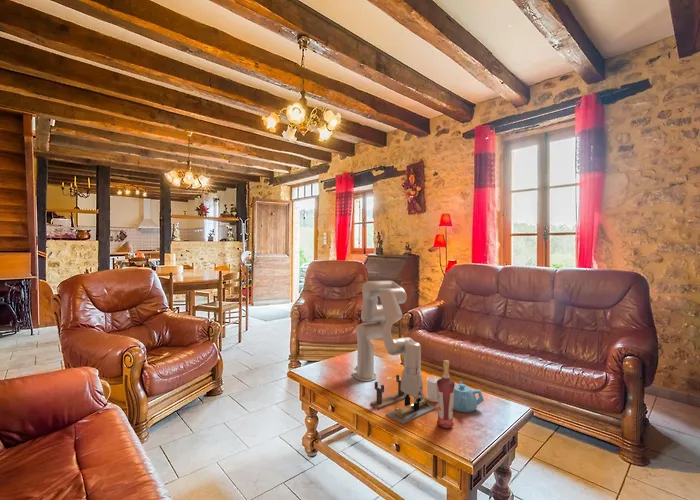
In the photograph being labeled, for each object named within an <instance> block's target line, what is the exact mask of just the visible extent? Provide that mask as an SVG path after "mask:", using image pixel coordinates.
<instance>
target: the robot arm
mask: <svg viewBox="0 0 700 500" xmlns="http://www.w3.org/2000/svg"><path fill="white" fill-rule="evenodd" d="M361 287H362V289H361V291H362V292H361V293H362V303H361V313H360V319H361V321H362V323H360V324H358V325H357V326H356V327H355V333H356V341H357V356H356V357H357V365H356V366H355V367H354V371H356V373H355V374H354V378H355V380H357V381H359V382H372V381H375V380H376V379H377V374H376V373H375V371H374V370H375V367H374V366H375V365H374V364H375V347H374V344H373V343H372V342H371V340H375V339H381V338H382V340H383V344H384V347H385V350H386V351H387V353H388V354H389V355H391V356H398V355H403V357H404V358H403V363H402V364H403V365H402V366H403V370H402V373H401V378H400V381H401V386H400V389H401V391H402V393H403V395H404V398H405V399H404V406H407V405H410V404H411V397H413V400H414V402H413V403H414V411H417V410H419V402H420V401H421V400H423V399H425V397H426V396H425V394H424V382H423V375H422V373H421V371H422V370H421V369H422V368H421V364H422V363H421V362H422V359H421V358H422V345H421V344H420V342H418V341H415V340H414V339H413V338H411V337H409V336H404V337H398V338H393V335H392V326H393V325H394V324H395V323H397V322H398V321H400V320H401V319H402V318H403V312H402V309H401V307H400V304H402V305H403V304H405V303H406V301H407V299H408V296H407V292H406V291H405V289H404V288H403V287H402V286H401V285H399V284H398V283H396V282H395V281H393V280H370V281H365V282H364V283H363V285H362V286H361ZM378 297H379V299H378ZM379 300H380V303H381V304H379Z"/></svg>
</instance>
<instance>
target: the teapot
mask: <svg viewBox="0 0 700 500" xmlns="http://www.w3.org/2000/svg"><path fill="white" fill-rule="evenodd" d="M476 394H478V395H477V396H478V398H477V397H476ZM484 400H485V399H484V395H483V394H482V389H472V388H471V387H469V386H468V385H466V384H465V383H463V381H459V383H458V384H456V385H455V387H454V402H453V411H456V412H459V413H467V414H468V413H472V412H474V411H475V410H476V409H477V408H478V405H480V404H482V403H483V402H484Z"/></svg>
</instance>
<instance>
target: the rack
mask: <svg viewBox="0 0 700 500" xmlns="http://www.w3.org/2000/svg"><path fill="white" fill-rule="evenodd" d="M395 382H397V383H398V384H397V391H398V392H395V393H392V394H390V395H387V396H385V397H382V396H383V393H385V384H380V387H379V382H378V381H374V390H376V400H374V401H371V402H370V403H369V405H370V406H371V407H373V408H375V409H377V410H382V409H384V408H386V407H388V406H392V405H394V404H396V403H399V402H401V401H405V398H404V395H403V393H402V391H401V389H400V386H401V379H400V374H396V376H395Z"/></svg>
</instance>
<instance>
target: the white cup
mask: <svg viewBox="0 0 700 500" xmlns="http://www.w3.org/2000/svg"><path fill="white" fill-rule="evenodd" d="M439 379H441V377H438V376H427V377H426V382H425V383H426V397H427V398H429V402H433V403H438V397H437V380H439Z"/></svg>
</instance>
